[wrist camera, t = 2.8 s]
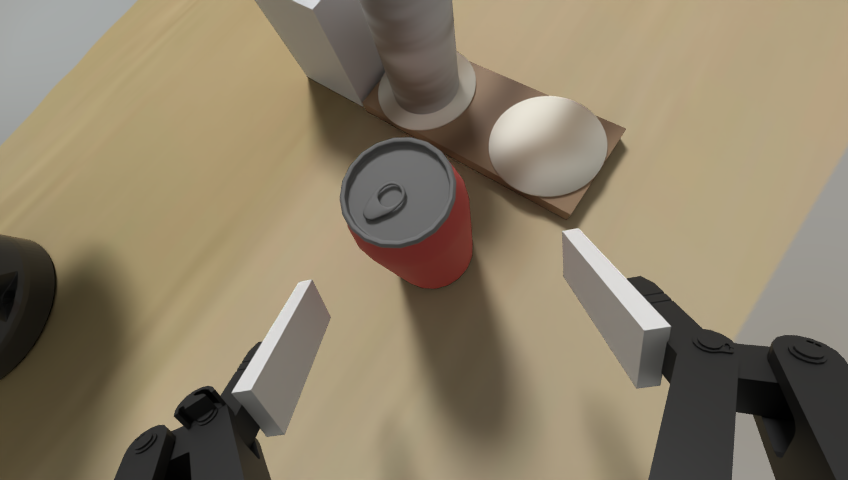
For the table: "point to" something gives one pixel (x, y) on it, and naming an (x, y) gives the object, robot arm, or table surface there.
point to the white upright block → (329, 43)
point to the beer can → (409, 211)
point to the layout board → (481, 109)
